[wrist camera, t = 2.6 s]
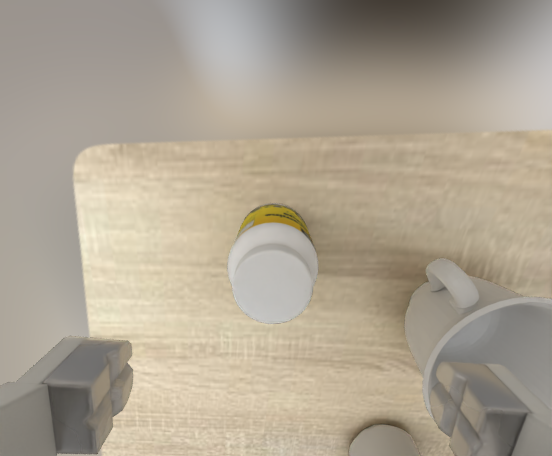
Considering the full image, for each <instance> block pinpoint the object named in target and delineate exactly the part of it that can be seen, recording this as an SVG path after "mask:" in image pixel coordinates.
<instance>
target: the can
mask: <svg viewBox="0 0 552 456" xmlns="http://www.w3.org/2000/svg"><path fill="white" fill-rule="evenodd" d="M349 456H421V455H420V453H419V451H418V449H417V447H416V445H415V442H414V440H413V438H412V437H411V436H410V435H409V434H408V433H407V432H406V431H405V430H402V429H400V428H398V427H393V426H391V425H385V424H379V425H373V426H370V427H368V428H366V429H364V430H363V431H362V432H360V433H359V434H358V436H357V437H356V438H355V439H354V441H353V442H352V443H351V446H350V449H349Z"/></svg>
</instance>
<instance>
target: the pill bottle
mask: <svg viewBox="0 0 552 456" xmlns="http://www.w3.org/2000/svg"><path fill="white" fill-rule="evenodd" d="M227 270H228V276H229V280H230V283H231V285H232V290H233V295H234V298H235V301H236V303H237V305H238V306H239V308H240V309H241V310H242V311H243V312H244V313H245V314H246V315H247V316H249V317H250V318H252V319H254V320H256V321H259V322H262V323H267V324H279V323H284V322H287V321H290V320H292V319H294V318H295V317H297V316H298V315H300V314H301V313H302V312H303V311H304V310H305V308H306V307H307V305H308V304H309V302H310V300H311V297H312V292H313V286H314V284H315V282H316V279H317V275H318V258H317V254H316V250H315V247H314V245H313V242H312V239H311V237H310V234H309V232H308V229H307V227H306V224H305V222H304V221H303V219H302V218H301V216H300V215H299V214H298V213H297V212H296V211H295V210H293V209H292V208H290V207H288V206H286V205H282V204H276V203H272V204H265V205H262V206H259V207H257V208H256V209H254V210H253V211H252V212H250V213H249V214H248V215H247V217H246V218H245V219H244V221H243V223H242V225H241V227H240V230H239V232H238V235H237V237H236V239H235V241H234V243H233V246H232V248H231V250H230V253H229V257H228V263H227Z"/></svg>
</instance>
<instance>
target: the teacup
mask: <svg viewBox="0 0 552 456" xmlns="http://www.w3.org/2000/svg"><path fill="white" fill-rule="evenodd" d="M426 274H427V277H428V280H429V281H428V282H426V283H424V284H422V285H421V286H420V287H418V288H417V289H416V290H415V292H414V293H413V295H412V296H411V299H410V302H409V306H408V308H407V311H406V315H405V323H404V328H405V335H406V339H407V343H408V345H409V348H410V351H411V353H412V355H413V358H414V360H415V362H416V364H417V366H418V368H419V371H420V373H421V375H422V377H423V397H424V402H425V405H426V408H427V410H428V412H429V414H430V416H431V417H432V419H433V420H434V418H433V415H432V412H431V407H430V395H431V390H432V388H433V387H434V386H435V385H436V384H437V383H438V382H439V380H438V378H437V376H436V371H437V368H438V366H439V364H440V363H441V362H457V363H473V364H479V363H489V364H500V365H502V366H504V367H506V368H507V369H508V370H509V371H510V372H511V373H512V374H513V375H514V376H515V377H517V378H518V379H519V380H520V381H521V382H522V383H523V384H524V385H525V386H526V387H527V388H528V389H529V390H530V391H531V392H532V393H533V394H535V395H536V396H537V397H538V398H539V399H540V400H541V401H542V402H543V403H544V404H545V405H546V406H547V407H548V408H549V409H550V410H551V411H552V299H549V298H542V297H524V296H522V295H519V294H517V293H515V292H513V291H511V290H508V289H506V288H504V287H502V286H499V285H497V284H495V283H492V282H490V281H487V280H484V279H481V278H477V277H472V276H468V275H467V274H466V273H465V272H464V271H463V270H462V269H461V268H460V267H459V266H457V265H456V264H455V263H454V262H452V261H450V260H448V259H445V258H439V259H436V260H434V261H432V262H431V263H430V264H429V265H428V266H427V268H426ZM434 421H435V420H434Z"/></svg>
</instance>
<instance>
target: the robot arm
mask: <svg viewBox="0 0 552 456" xmlns="http://www.w3.org/2000/svg"><path fill="white" fill-rule="evenodd" d="M131 356H132V346H131V343H130V342H129V341H125V340H114V339H102V338H91V337H90V338H88V337H76V336H69V337H66V338H63V339H62V340H61V341H60V342H59V343H58V344H57V345H56V346H55V347H53V349H51V350H50V351H49V352H48V353H47V354H46V355H45V356H44V357H43V358H41V359H40V360H39V361H38V362H37V363H36V364H35V365H34V366H33V367H32V368H30V369H29V370H28V371H27V372H26V373H25V374H24V375H23V376H22V377H21V378H19V379H18V380H17V381H16V382H7V383H5V384H3V385H0V456H57V453H62V454H63V453H64V454H98V452H99V450H100V449H101V447H102V445H103V443H104V442H105V440H106V438H107V436H108V435H109V433H110V431H111V429H112V428H113V419H112V417H114V416H115V415H116V414H118V413H119V412H121V411H122V410H123V408H124V406H125V405H126V403H127V401H128V398H129V395H130V392H131V389H132V384H133V369H132V368H131V367H130V365H129V364H128V363H127V362H128V361H129V359H130V358H131ZM436 376H437V378H438V380H439V382H438V383H437V384H436V385H435V386H434V387H433V388H432V390H431V395H430V407H431V412H432V415H433V418H434V420H435V422H436V424H437V426H438V427H439V429H440V430H441V431H443V432H444V433H445V434H446V435H448V436H449V437H450V444H449V446H450V448H451V450H452V451H453V453H454V455H455V456H552V411H551V410H550V409H549V408H548V407H547V406H546V405H545V404H544V403H543V402H542V401H541V400H540V399H539V398H538V397H537V396H536V395H535V394H533V393H532V392H531V391H530V390H529V389H528V388H527V387H526V386H525V385H524V384H523V383H522V382H521V381H520V380H519V379H518V378H517V377H515V376H514V375H513V374H512V373H511V372H510V371H509V370H508V369H507V368H506V367H504V366H502V365H500V364H489V363H479V364H473V363H457V362H441V363H440V364H439V366H438V368H437V371H436Z"/></svg>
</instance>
